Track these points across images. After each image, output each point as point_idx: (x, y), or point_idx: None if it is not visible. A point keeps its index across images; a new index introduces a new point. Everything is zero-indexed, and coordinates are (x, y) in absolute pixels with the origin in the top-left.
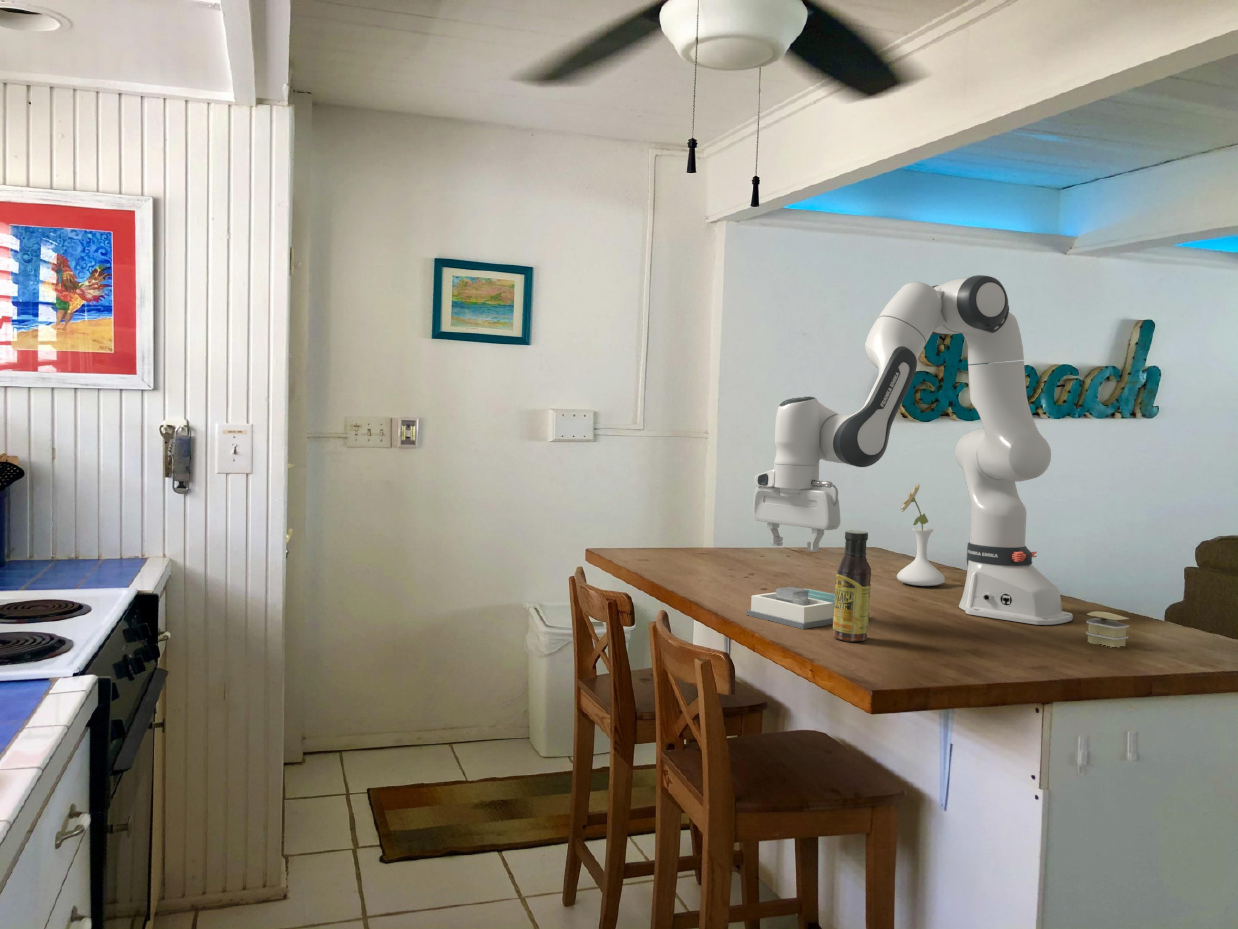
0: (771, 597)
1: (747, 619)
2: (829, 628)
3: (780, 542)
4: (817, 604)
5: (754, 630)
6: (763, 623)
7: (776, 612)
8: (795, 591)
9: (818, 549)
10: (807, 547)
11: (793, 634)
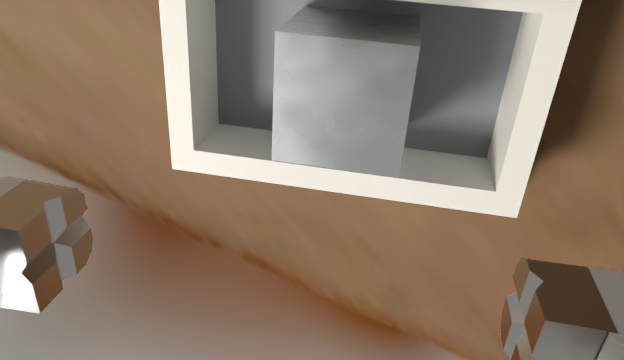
0: (195, 54)
1: (254, 199)
2: (595, 86)
3: (65, 228)
4: (531, 106)
5: (390, 313)
6: (337, 211)
7: None
8: (396, 153)
9: (620, 279)
10: (507, 351)
11: None
